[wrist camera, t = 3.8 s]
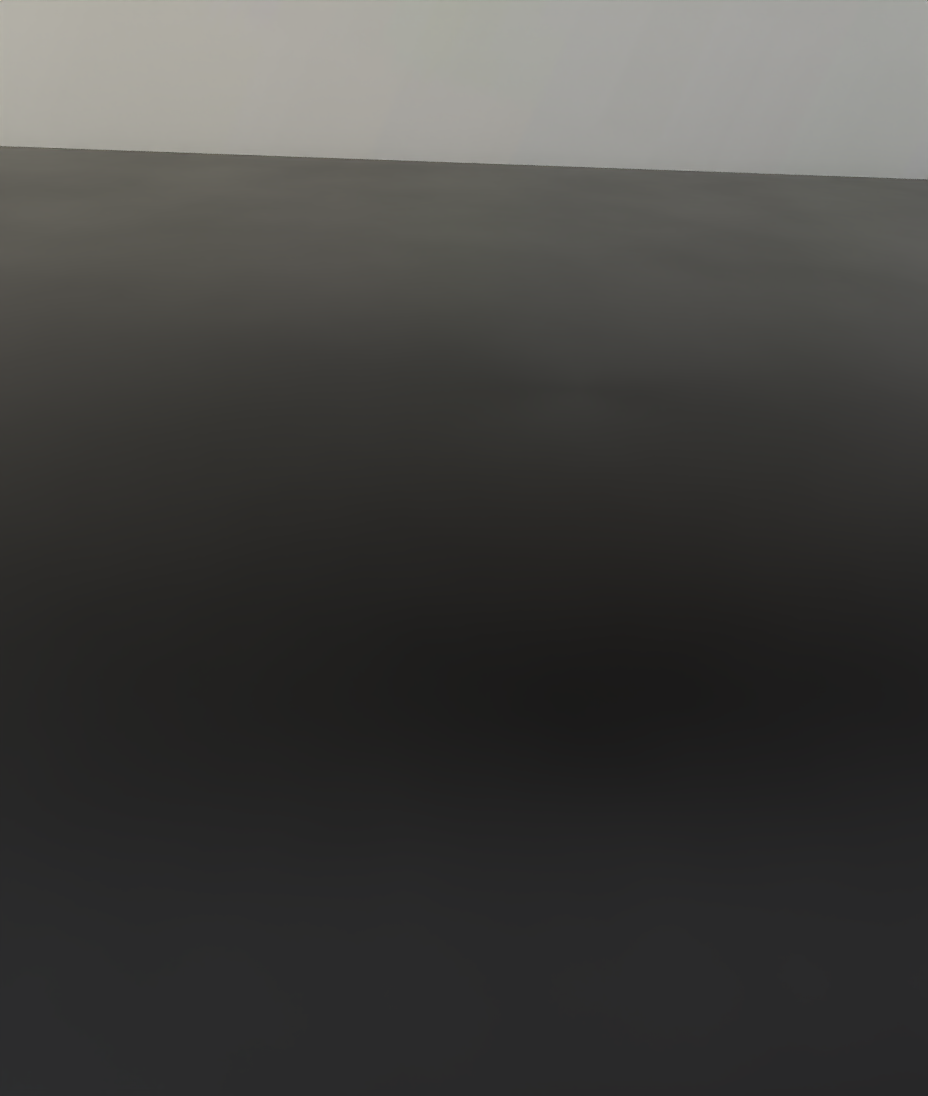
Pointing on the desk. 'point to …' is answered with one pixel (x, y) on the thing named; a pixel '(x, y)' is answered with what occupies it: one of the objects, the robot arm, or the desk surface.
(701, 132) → the desk surface
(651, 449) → the laptop screen
